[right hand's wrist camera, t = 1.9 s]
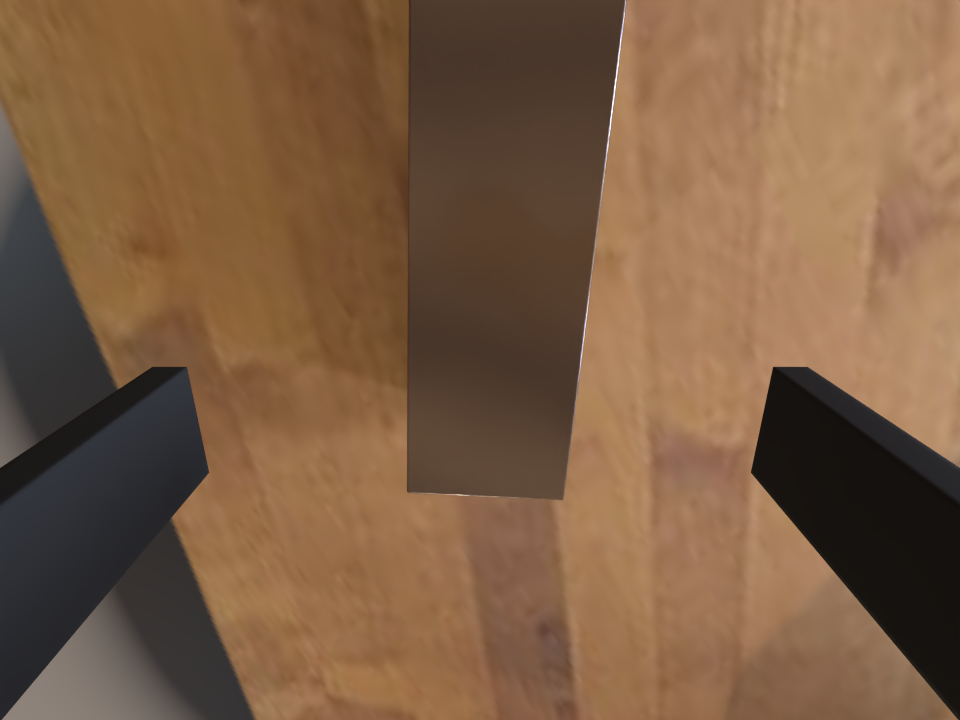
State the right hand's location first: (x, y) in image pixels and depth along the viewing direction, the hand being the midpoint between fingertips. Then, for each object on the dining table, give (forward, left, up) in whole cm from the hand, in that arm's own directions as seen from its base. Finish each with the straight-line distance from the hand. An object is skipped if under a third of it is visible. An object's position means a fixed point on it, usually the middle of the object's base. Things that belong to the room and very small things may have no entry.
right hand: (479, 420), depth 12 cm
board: (+2, -25, -13) cm, 28 cm away
